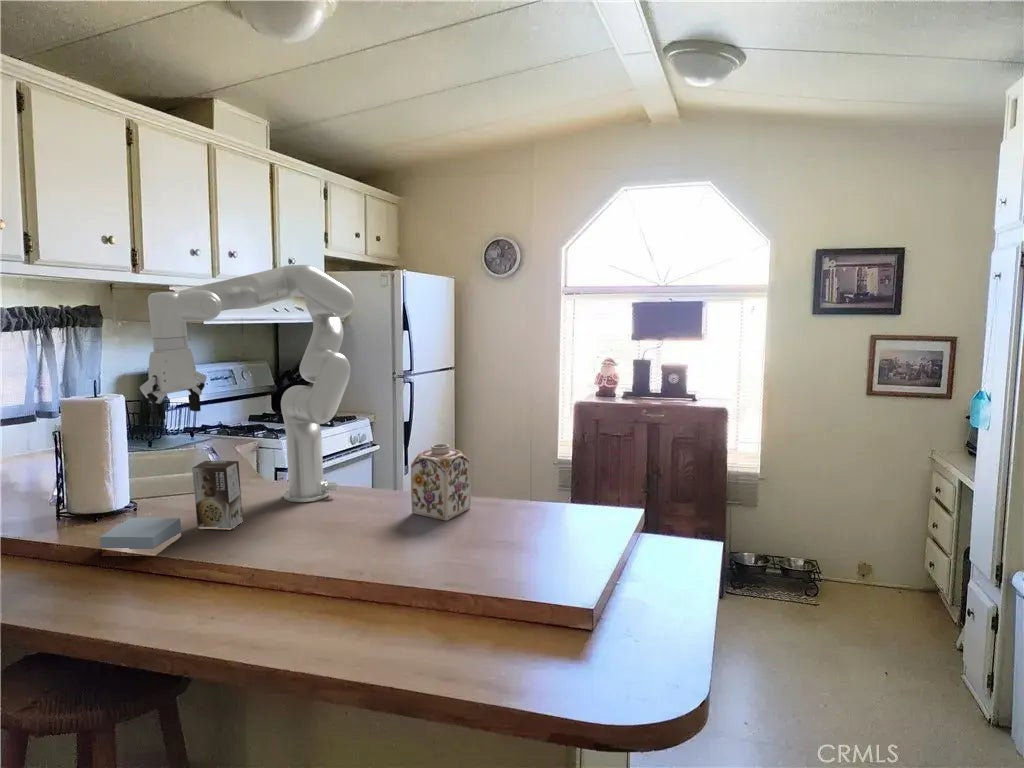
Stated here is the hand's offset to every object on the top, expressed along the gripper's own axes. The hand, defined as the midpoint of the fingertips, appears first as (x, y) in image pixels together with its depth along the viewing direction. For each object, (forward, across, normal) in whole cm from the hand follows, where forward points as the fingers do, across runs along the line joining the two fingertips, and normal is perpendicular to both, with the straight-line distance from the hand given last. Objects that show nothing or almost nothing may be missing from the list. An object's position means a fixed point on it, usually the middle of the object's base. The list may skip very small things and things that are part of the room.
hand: (178, 414), depth 166 cm
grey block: (+29, +13, 0) cm, 32 cm away
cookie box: (+29, -4, +6) cm, 30 cm away
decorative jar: (+30, -38, +50) cm, 69 cm away
